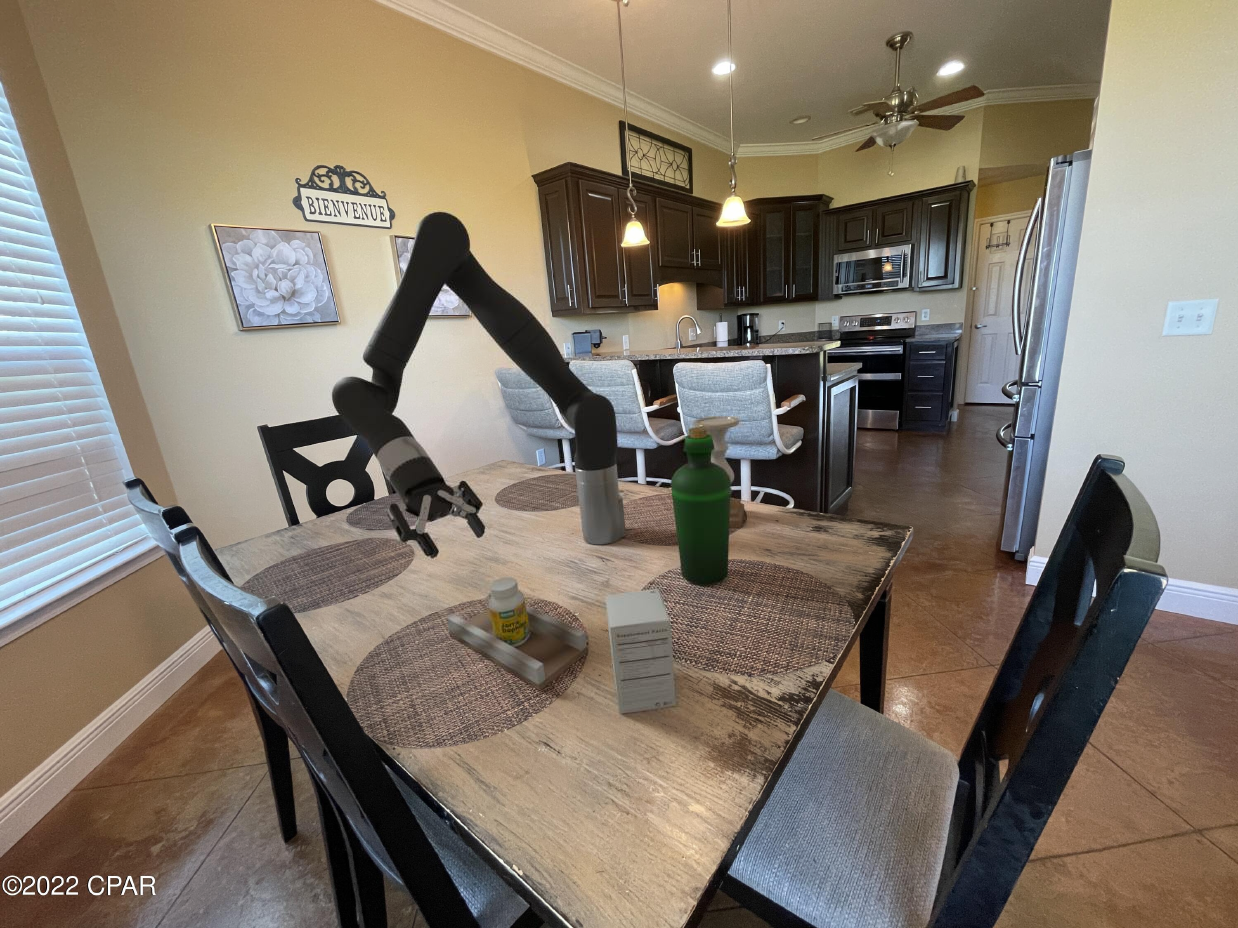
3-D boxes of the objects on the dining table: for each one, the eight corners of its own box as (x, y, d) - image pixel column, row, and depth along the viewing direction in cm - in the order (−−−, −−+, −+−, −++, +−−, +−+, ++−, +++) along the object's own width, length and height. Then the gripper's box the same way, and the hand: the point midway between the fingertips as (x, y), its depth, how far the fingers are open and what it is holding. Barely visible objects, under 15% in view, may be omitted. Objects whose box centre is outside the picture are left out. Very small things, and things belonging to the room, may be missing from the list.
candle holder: (741, 528, 108) (738, 425, 101) (692, 526, 112) (687, 426, 105) (744, 510, 118) (743, 415, 111) (700, 508, 121) (696, 416, 115)
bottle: (739, 565, 92) (735, 422, 84) (726, 594, 82) (721, 436, 75) (685, 558, 96) (678, 422, 89) (668, 585, 87) (658, 435, 79)
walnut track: (450, 636, 78) (446, 617, 77) (497, 608, 85) (494, 590, 84) (539, 690, 64) (536, 668, 63) (587, 652, 71) (585, 631, 70)
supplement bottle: (522, 623, 78) (514, 570, 75) (536, 639, 73) (527, 583, 71) (490, 637, 75) (480, 582, 72) (502, 654, 70) (492, 596, 68)
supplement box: (613, 674, 66) (604, 593, 62) (666, 667, 66) (660, 586, 63) (618, 716, 59) (608, 626, 55) (677, 707, 59) (671, 618, 56)
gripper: (371, 467, 74) (424, 551, 70) (452, 445, 84) (502, 517, 80) (364, 494, 79) (413, 574, 75) (442, 471, 89) (489, 539, 85)
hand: (459, 544), depth 77 cm, fingers open, 8 cm apart
